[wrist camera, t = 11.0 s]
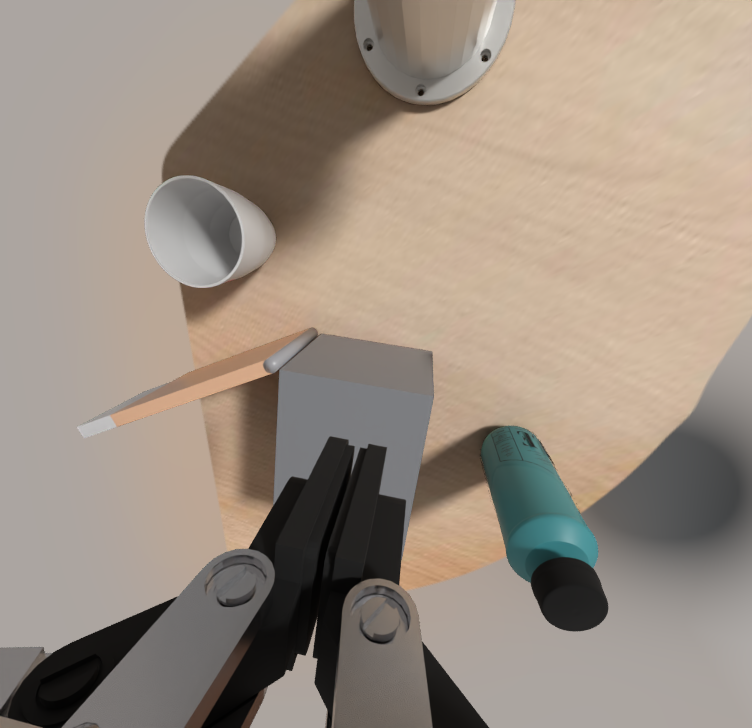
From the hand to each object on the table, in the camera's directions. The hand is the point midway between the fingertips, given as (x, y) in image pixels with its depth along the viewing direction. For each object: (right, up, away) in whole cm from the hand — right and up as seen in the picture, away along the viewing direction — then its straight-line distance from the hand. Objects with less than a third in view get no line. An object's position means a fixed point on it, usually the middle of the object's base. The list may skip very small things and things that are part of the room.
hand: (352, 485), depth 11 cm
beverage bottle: (+15, -5, +31) cm, 35 cm away
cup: (-12, +17, +27) cm, 34 cm away
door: (-15, +4, +31) cm, 35 cm away
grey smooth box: (0, -2, +31) cm, 31 cm away
